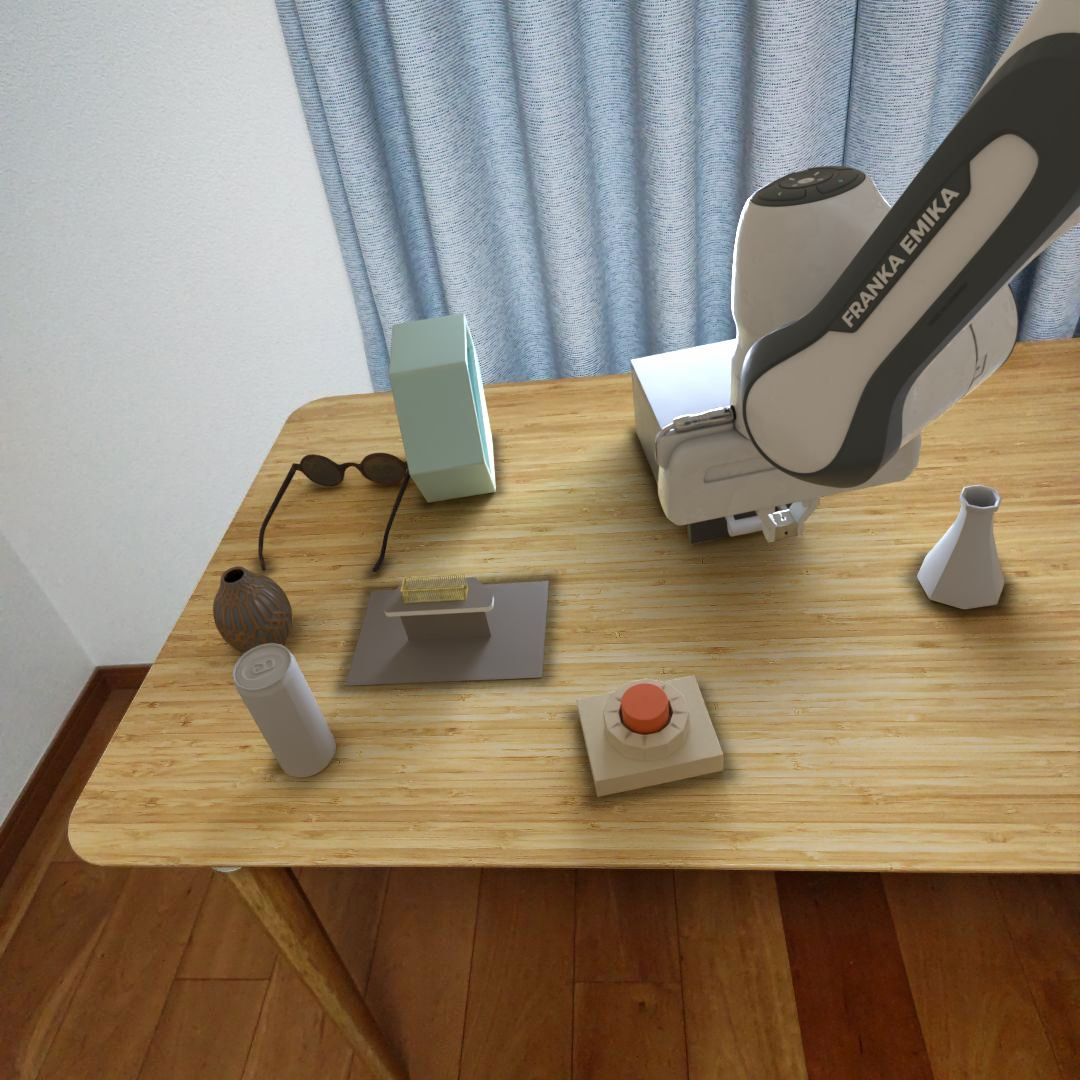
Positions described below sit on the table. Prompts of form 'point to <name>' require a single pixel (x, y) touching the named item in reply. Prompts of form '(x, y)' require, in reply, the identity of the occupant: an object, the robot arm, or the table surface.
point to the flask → (966, 555)
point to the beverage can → (284, 709)
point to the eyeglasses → (331, 474)
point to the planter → (442, 408)
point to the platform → (451, 632)
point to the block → (649, 739)
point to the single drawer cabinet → (678, 388)
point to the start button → (645, 708)
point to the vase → (251, 610)
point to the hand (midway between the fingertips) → (781, 534)
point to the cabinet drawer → (727, 526)
